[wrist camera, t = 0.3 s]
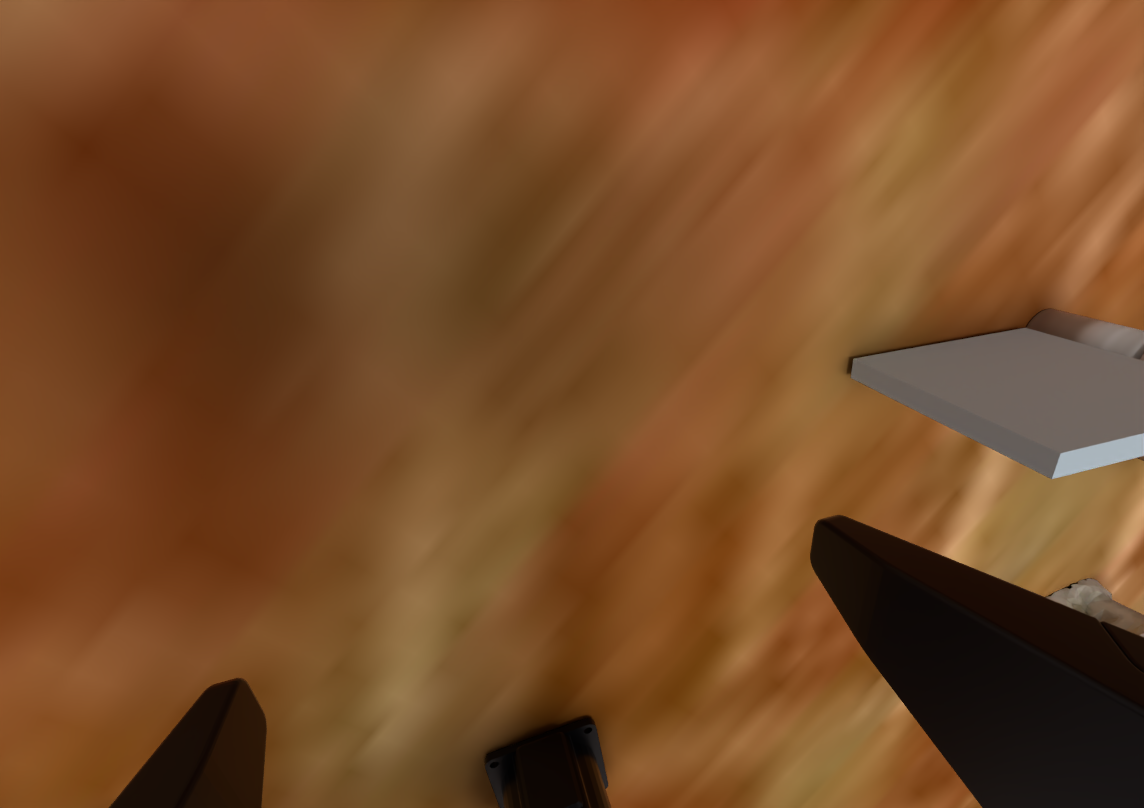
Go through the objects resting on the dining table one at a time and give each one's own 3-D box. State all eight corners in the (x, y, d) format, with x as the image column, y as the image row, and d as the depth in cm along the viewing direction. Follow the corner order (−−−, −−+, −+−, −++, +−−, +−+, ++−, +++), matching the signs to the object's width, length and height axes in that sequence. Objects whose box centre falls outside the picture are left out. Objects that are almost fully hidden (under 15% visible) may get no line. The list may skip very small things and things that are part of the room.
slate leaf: (1071, 307, 30) (1343, 369, 21) (1058, 350, 31) (1312, 427, 22) (855, 344, 27) (1067, 434, 18) (848, 391, 28) (1045, 496, 19)
